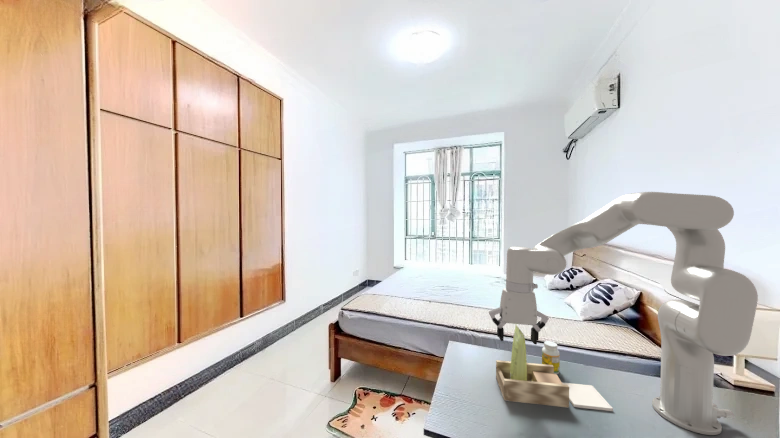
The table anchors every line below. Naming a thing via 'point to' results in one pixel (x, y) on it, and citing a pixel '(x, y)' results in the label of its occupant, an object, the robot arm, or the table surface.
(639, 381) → the table surface
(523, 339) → the tube
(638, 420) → the table surface
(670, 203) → the robot arm
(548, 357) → the supplement bottle
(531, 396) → the tray
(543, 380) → the offcut top
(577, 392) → the tile
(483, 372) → the table surface
